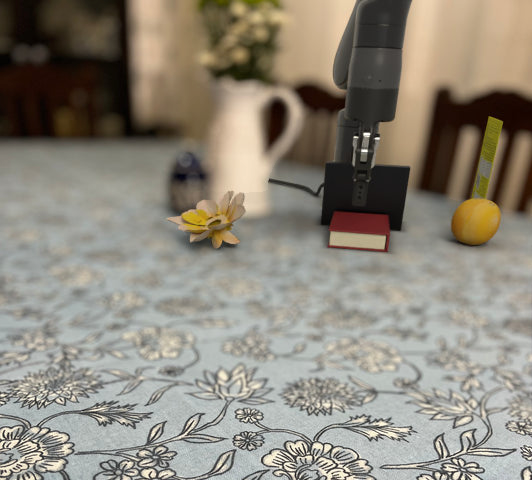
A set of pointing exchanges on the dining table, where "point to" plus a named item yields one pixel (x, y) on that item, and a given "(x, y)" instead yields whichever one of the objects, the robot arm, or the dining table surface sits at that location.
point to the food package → (487, 158)
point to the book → (359, 231)
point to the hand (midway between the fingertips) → (358, 205)
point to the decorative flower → (212, 219)
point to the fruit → (475, 221)
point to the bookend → (378, 194)
